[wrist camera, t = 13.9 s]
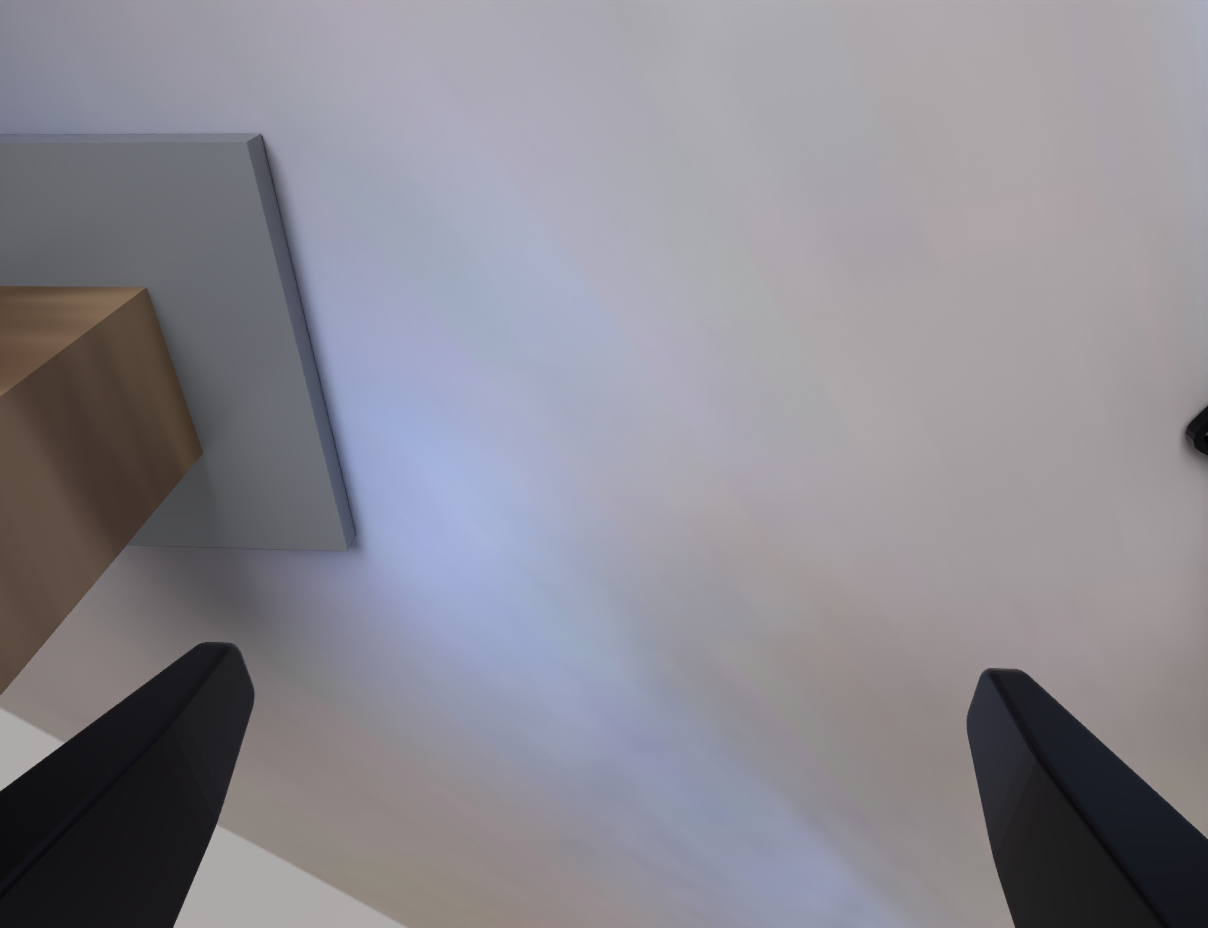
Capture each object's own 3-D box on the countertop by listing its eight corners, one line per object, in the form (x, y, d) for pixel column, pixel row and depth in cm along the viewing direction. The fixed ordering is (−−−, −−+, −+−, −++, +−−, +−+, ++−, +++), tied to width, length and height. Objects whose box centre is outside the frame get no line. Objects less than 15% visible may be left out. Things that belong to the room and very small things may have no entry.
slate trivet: (260, 133, 19) (246, 142, 19) (355, 534, 26) (347, 551, 26) (-220, 135, 20) (-250, 143, 20) (-8, 524, 27) (-25, 540, 26)
